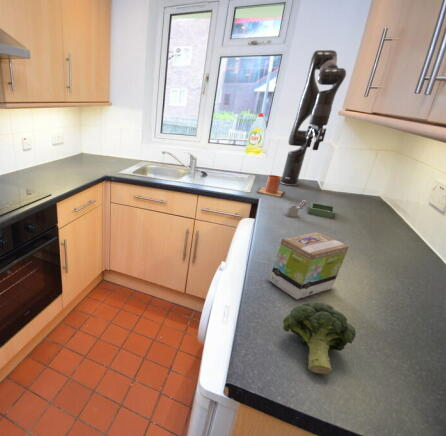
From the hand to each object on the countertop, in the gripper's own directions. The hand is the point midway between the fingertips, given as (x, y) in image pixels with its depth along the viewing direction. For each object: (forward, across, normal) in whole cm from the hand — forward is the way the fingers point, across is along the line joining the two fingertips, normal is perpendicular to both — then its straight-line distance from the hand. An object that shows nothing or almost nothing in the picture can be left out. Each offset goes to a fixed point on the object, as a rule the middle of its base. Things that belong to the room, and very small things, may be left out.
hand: (310, 148), depth 149 cm
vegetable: (+28, -109, +36) cm, 118 cm away
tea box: (+28, -83, +29) cm, 92 cm away
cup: (+28, +13, +9) cm, 32 cm away
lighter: (+28, -23, +9) cm, 38 cm away
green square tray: (+28, -16, -6) cm, 33 cm away
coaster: (+28, +13, +9) cm, 32 cm away
